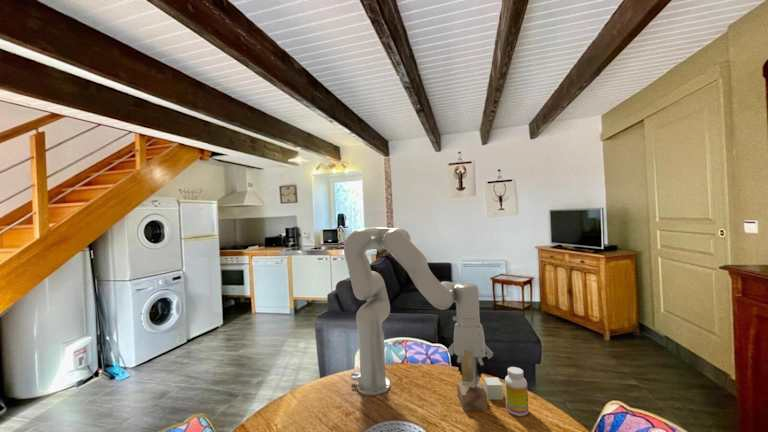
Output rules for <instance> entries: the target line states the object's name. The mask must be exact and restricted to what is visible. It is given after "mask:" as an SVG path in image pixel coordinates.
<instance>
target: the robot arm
mask: <svg viewBox="0 0 768 432" xmlns="http://www.w3.org/2000/svg"><path fill="white" fill-rule="evenodd" d="M344 241H345V242H344V245H343V254H344V259H345V261H346V265H347V269H348V275H349V279H350V283H351V288H352V293H353V295H354V297H355V298H357V300H360V301H366V303H364V304H362V305H361V306H360V308H359V309H358V310H357V312H356V316H355V322H356V327H357V333H358V347H359V348H358V349H359V350H358V351H359V372H357V371H352V372H351V374H350V377H351V380H352V381H357V382H356V390H357V391H358V392H359V393H360V394H362V395H365V396H372V397H373V396H379V395H382V394H384V393H386V392H387V391H388V390H389V389H390V388H391V387H390V386H391V382H390V380H389V379H388V378H387V376H386V359H385V358H386V357H385V353H386V352H385V335H384V331H383V328H382V327H383V326H382V324H383V322H384V321H386V319H387V318H388V317H389V315H390V313H391V304H390V300H389V295H388V292H387V288H386V283H385V280H384V278H383V276H382V275H381V274H380V273H379V272H377V271H375V270H372V268H371V264H370V260H369V258H368V256H367V254H366V252H367V251H368V250H372V249H373V250H374V249H385V250H386V251H387V252H388V253H389V254H390V255H391V256H392V257H393V258H394V260H396V261H397V263H399V265H401V266H402V268H403V269H404V270H405V271H406V272H407V274H408V276H409V277H410V279H411V281H412V282H413V284H414V286H415V288H416V289H417V290H418V291H419V293H420V294H421V295H422V296H423V297H424V298H425V300H427V301H428V303H429V304H430V305H432V306H433V307H434V308H436V309H438V310H442V311H444V310H448V309H449V308H450V307H451V306H452V305H453V304H454V303H455V306H456V315H455V316H452V321H455V322H456V323H455V324H454V330H453V343H451V345H450V346H449V347H448V348H447V353H448V354H450V355H451V357H452V358H453V359H454V360H455V361H456V363H457V371H458V372H459V375H460V376H462V368H461V356H464V350H473V352H474V357H476V358H478V360H479V362H478V370H479V377H480V378H482V375H483V374H484V364H485V363H486V362H487V361H488V360H489V359H491V358H493V356H494V352H493V351H492V350H491V349H490V348H489V346H487V344H486V340H485V333H484V332H485V331H484V327H483V324H481V318H480V296H479V295H480V293H479V288H478V285H476V284H475V283H471V282H470V283H469V282H464V283H458V282H453V281H446V280H445V281H440V280H439V279H438V278H437V277H436V276H435V275H434V274H433V272H432V271H431V269H430V267H429V265H428V261H427V258H426V256H425V255H424V253H423V252H422V251H420V249H419V248H418V247H417V246H416V245H415V244H413V242H412V241H411V235H410V233H409V232H408V231H407V230H406V229H404V228H401V227H400V228H399V227H398V228H397V227H394V228H393V227H391V228H390V227H375V226H374V227H363V228H358V229H356V230H354V231H352V232H351V233H350V234H349V235H348V237H347V238H346V239H345V240H344Z"/></svg>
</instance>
